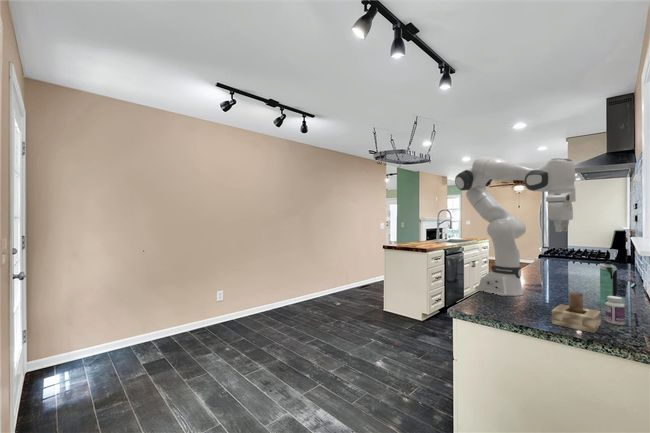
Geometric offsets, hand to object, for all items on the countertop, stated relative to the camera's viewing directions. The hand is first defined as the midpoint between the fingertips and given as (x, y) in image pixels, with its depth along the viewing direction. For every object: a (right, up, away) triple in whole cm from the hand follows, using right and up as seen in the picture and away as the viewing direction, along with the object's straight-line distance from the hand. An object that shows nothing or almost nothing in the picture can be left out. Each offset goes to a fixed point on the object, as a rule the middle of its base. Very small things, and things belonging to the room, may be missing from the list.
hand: (561, 231), depth 121 cm
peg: (-3, -33, -10) cm, 34 cm away
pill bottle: (+13, -34, -9) cm, 38 cm away
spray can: (+30, -34, +11) cm, 47 cm away
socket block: (-3, -34, -10) cm, 36 cm away
